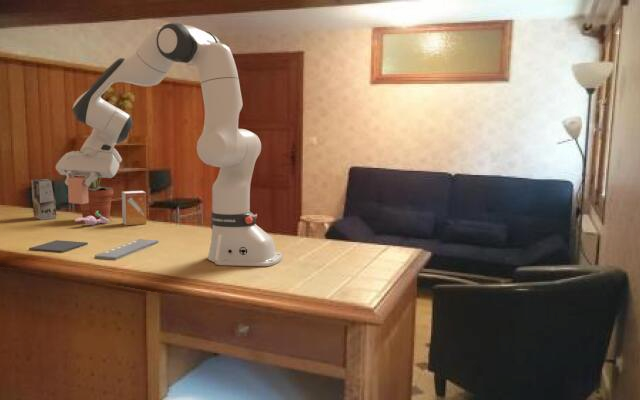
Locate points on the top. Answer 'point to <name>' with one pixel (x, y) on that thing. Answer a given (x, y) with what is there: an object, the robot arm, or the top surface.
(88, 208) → the potted plant
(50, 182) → the coffee box
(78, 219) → the rabbit figure
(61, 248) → the mat
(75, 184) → the stub block
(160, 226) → the top surface
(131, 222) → the small box
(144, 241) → the plate
